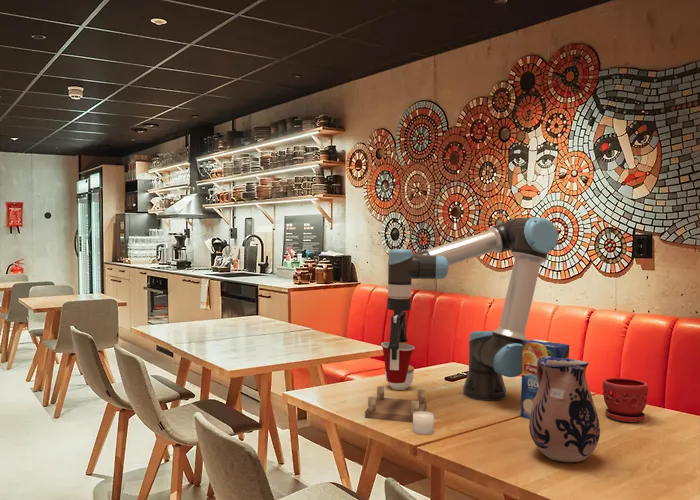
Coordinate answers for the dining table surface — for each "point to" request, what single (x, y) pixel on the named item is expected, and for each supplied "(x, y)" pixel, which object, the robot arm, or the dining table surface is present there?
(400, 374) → the plastic cup
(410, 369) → the lidded jar
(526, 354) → the juice carton
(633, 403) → the plant pot
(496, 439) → the dining table surface
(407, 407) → the stand
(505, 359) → the robot arm
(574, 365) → the ceramic pitcher
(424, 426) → the marshmallow
